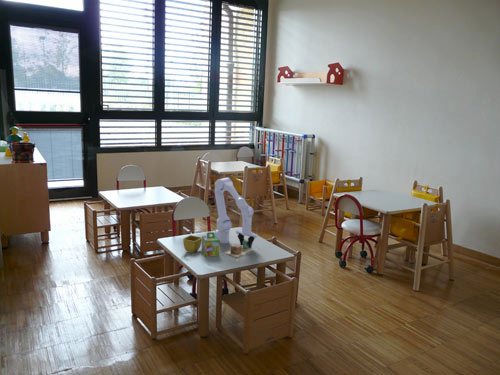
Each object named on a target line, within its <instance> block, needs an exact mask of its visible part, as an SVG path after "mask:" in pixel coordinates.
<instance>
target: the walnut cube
mask: <svg viewBox="0 0 500 375" xmlns="http://www.w3.org/2000/svg"><path fill="white" fill-rule="evenodd" d="M242 246H243V245H239V244H237V243H234V244H231V245H230V248H229V249H230V253H232V254H235V255H239V254H241V252H242Z"/></svg>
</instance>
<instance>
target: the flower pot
mask: <svg viewBox="0 0 500 375" xmlns="http://www.w3.org/2000/svg"><path fill="white" fill-rule="evenodd" d="M182 242H183V243H182V244H183V248H184V250H185V252H187V253H190V254H195V253H197V252H198V251H199V250H200V249H201V248H200V247H202V236H197V235H192V234H190V235H188V236H185V237H184V238H182Z"/></svg>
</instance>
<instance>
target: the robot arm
mask: <svg viewBox="0 0 500 375" xmlns="http://www.w3.org/2000/svg"><path fill="white" fill-rule="evenodd" d="M225 191H226V192H228V193H229V194H230V195H231V196H232V197H233V199H234V200H235V204H236V206H237V207H238V209H239V210H240V211H241V212H240V215H241V216H242V217H241V218H242V227H241V229H238V230H236V231H235V233H236V235H237V238H238V240H239V244H240V245H242V246H243V240H244V239H245V236H246V237H247V239H248V241H249V248H251V249H252V247H251V246H253V243H254V240H255V239H257V238H258V234H256V233H254V232H252V220H253V216H254V214H255V211H254V208H253V207H252V206H250V205H249V204H248V203H247V202H246V199H245V198H243V197H242V196H240V194H239V193H238V191H237V190H236V188H235V186H234V182H233V181H232V180H231V178H230V177H224V178H218V179H216V181H215V182H214V191H213V192H214V196H215V204H216V209H217V210H216V211H217V214H218V218H217V219H216V225H215V226H216V230H215V231H214V236H216V237H218V239H219V240H220V244H228V243H230V231H231V228H232V227H233V226H232V225H233V224H232V221H231V218H230V217H229V216H228V213H227V208H226V202H225V197H224V196H225V195H224V192H225Z"/></svg>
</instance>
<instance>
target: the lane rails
mask: <svg viewBox="0 0 500 375" xmlns="http://www.w3.org/2000/svg"><path fill="white" fill-rule="evenodd" d="M238 245H240V243H239V244H238ZM257 250H260V248H259V247H256V248H254V249H253V250H251V251H249V252H248V253H246V254H244V255H242V256H240V257H239V258H238V257H237V258H236V259H235V261H236V262H237V261H239V260H240V259H243V258H244V257H245V256H248V255H250V254H251V253H253V252H255V251H257ZM229 251H230V248H229V249H227V250H224V251H223V252H221V253H219V255H218V256H222V255H225V252H229Z"/></svg>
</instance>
